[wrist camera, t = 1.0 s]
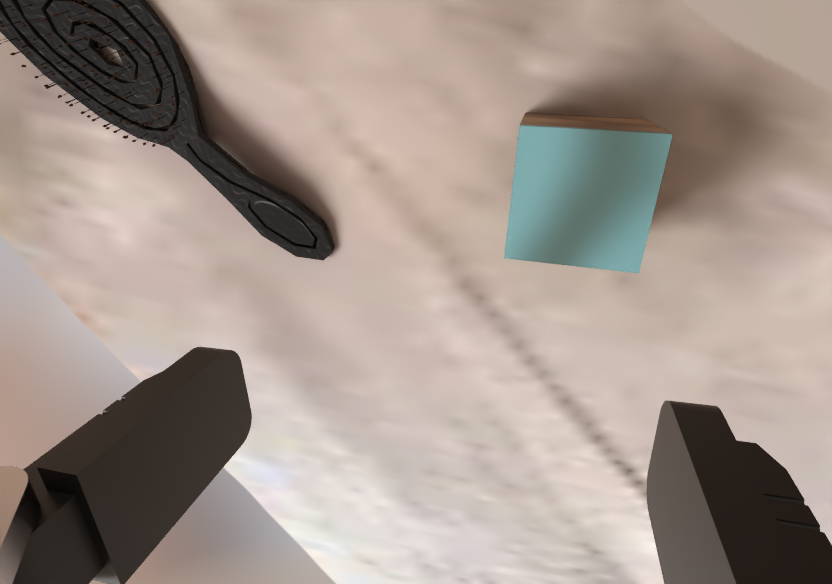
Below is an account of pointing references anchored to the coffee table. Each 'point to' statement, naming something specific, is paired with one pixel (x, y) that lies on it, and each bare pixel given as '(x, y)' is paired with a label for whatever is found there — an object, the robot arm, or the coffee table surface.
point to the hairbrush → (150, 100)
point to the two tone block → (585, 190)
